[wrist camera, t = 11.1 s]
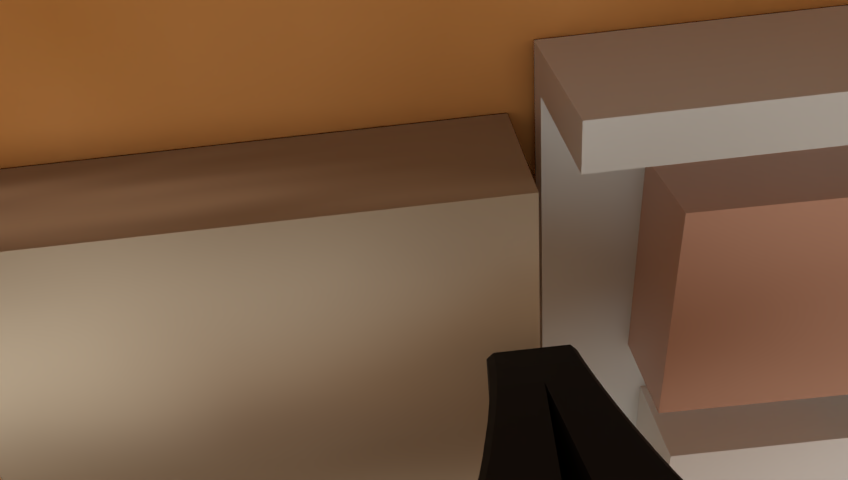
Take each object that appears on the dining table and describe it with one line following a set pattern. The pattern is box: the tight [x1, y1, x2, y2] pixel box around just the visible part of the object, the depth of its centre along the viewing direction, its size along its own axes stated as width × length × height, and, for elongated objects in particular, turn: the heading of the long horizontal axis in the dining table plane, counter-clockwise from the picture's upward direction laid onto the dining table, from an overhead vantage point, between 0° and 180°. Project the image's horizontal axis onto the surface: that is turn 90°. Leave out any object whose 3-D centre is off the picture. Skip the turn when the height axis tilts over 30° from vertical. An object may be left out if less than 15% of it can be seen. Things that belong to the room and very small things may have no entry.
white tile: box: [636, 386, 848, 480], centre depth 17 cm, size 4×4×2 cm
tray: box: [534, 5, 848, 427], centre depth 15 cm, size 15×8×4 cm, turn 5°
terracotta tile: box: [628, 145, 848, 413], centre depth 13 cm, size 4×4×2 cm
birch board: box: [0, 113, 540, 480], centre depth 15 cm, size 12×10×3 cm
